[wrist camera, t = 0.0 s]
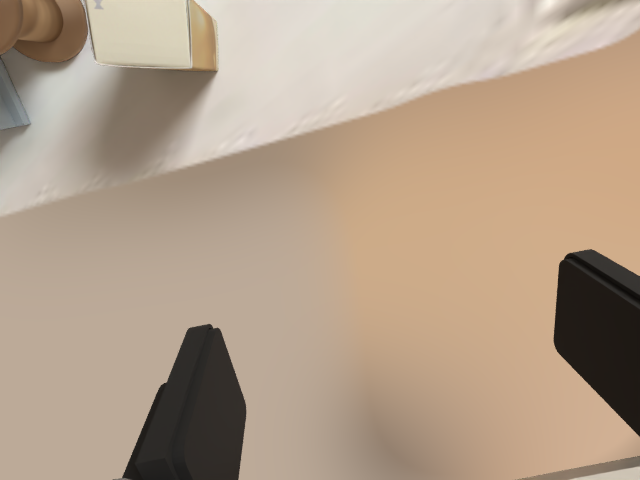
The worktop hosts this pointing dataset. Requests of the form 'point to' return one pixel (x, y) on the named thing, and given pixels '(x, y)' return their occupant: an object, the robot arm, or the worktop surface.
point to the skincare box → (152, 34)
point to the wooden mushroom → (43, 28)
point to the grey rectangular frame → (10, 103)
